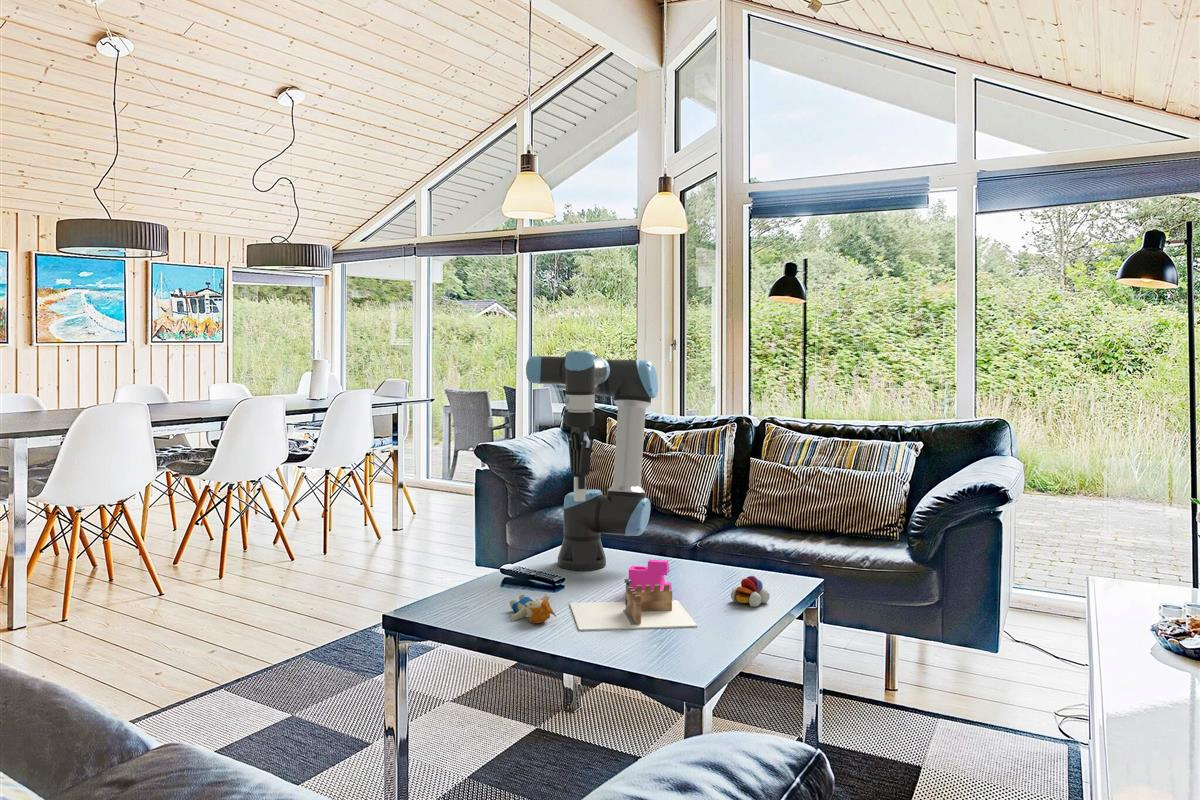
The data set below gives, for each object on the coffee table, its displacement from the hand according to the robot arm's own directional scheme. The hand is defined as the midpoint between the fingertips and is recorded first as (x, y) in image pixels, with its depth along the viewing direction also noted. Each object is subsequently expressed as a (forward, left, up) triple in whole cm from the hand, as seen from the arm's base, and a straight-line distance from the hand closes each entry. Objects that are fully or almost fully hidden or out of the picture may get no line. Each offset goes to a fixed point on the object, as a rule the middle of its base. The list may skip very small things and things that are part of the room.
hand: (579, 500), depth 223 cm
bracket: (-8, +21, -28) cm, 36 cm away
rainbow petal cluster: (+1, +46, -28) cm, 54 cm away
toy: (+8, -13, -28) cm, 32 cm away
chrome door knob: (+7, +12, -28) cm, 31 cm away
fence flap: (+13, +12, -27) cm, 33 cm away
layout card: (+9, +12, -28) cm, 32 cm away
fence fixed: (+7, +18, -28) cm, 34 cm away
